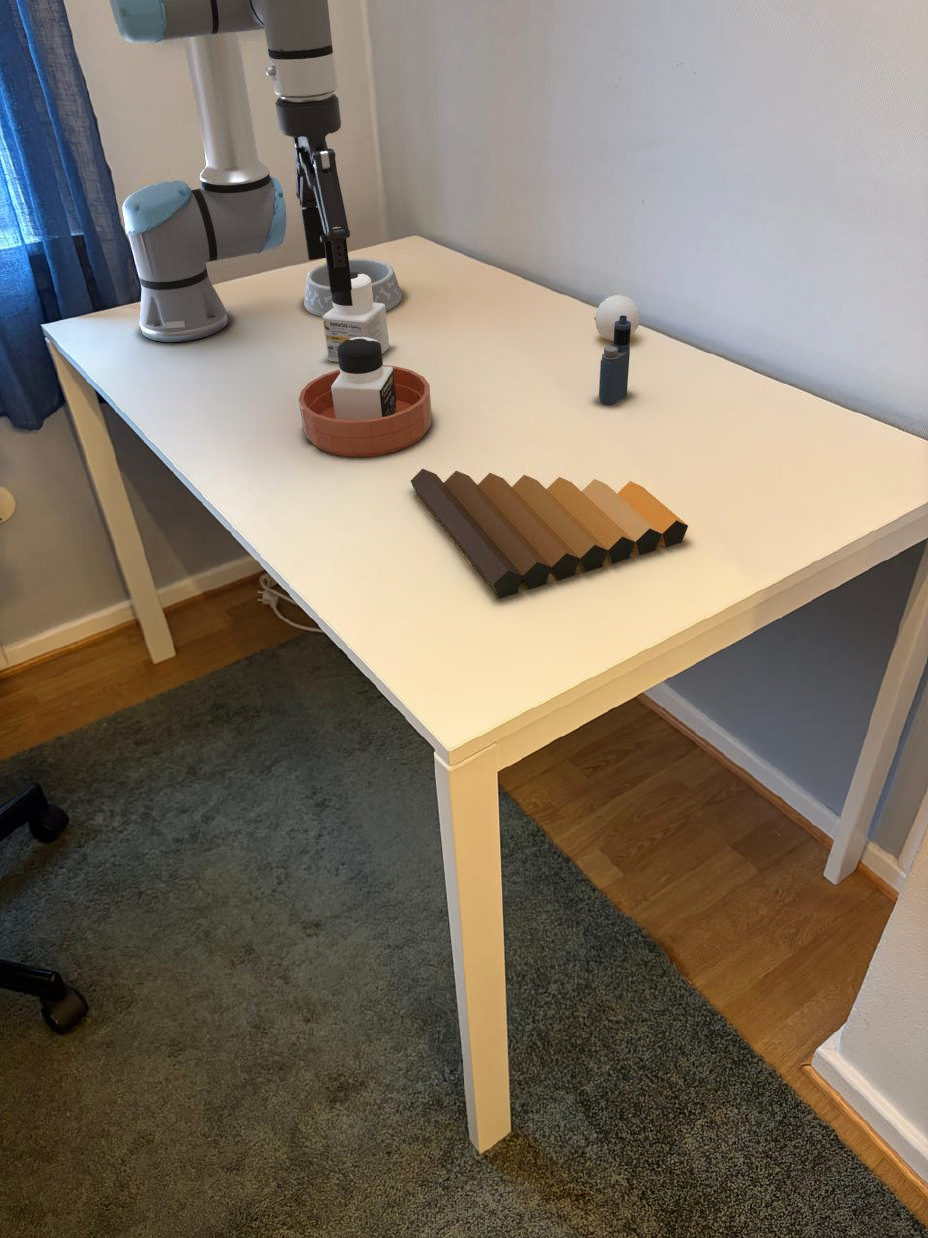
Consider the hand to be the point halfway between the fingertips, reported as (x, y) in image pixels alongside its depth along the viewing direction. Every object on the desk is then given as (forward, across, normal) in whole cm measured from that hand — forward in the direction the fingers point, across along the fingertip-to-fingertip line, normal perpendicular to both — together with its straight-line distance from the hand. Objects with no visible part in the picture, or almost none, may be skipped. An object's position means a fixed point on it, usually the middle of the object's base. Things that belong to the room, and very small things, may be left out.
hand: (329, 273), depth 127 cm
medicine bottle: (+21, +4, +2) cm, 21 cm away
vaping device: (+21, +10, +38) cm, 45 cm away
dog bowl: (+22, -47, +12) cm, 53 cm away
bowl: (+21, +4, +2) cm, 22 cm away
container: (+22, -22, +7) cm, 32 cm away
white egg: (+22, -11, +48) cm, 54 cm away
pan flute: (+21, +36, +16) cm, 45 cm away
